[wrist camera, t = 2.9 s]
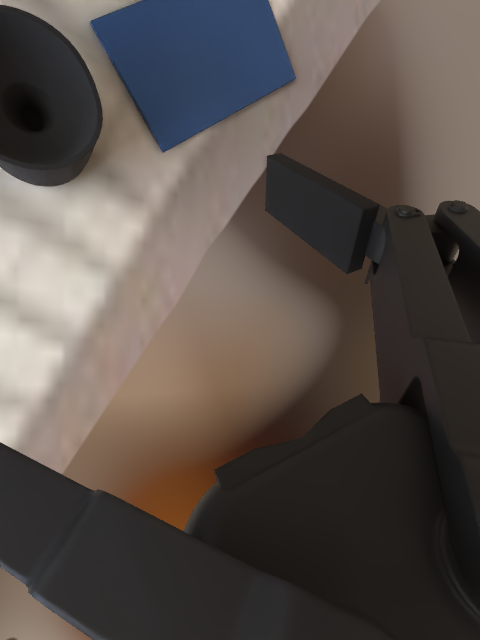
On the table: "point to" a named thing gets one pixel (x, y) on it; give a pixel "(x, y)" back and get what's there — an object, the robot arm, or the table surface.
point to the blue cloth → (194, 60)
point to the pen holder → (44, 102)
